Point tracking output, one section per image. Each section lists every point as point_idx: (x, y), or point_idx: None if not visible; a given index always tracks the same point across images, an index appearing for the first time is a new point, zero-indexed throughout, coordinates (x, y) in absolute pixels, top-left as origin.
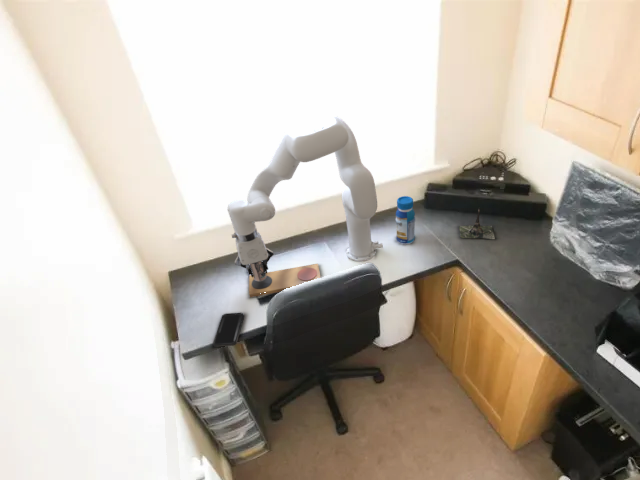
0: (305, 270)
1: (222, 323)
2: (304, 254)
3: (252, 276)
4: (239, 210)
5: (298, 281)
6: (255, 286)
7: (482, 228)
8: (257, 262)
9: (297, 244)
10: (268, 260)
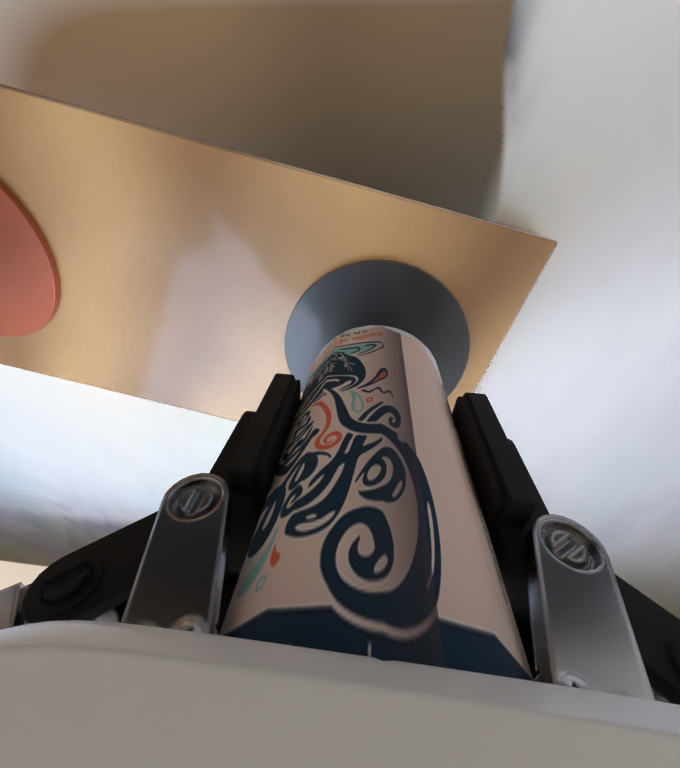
0: None
1: None
2: (72, 472)
3: (474, 398)
4: None
5: (31, 176)
6: (447, 327)
7: None
8: (336, 618)
9: None
10: (121, 533)
